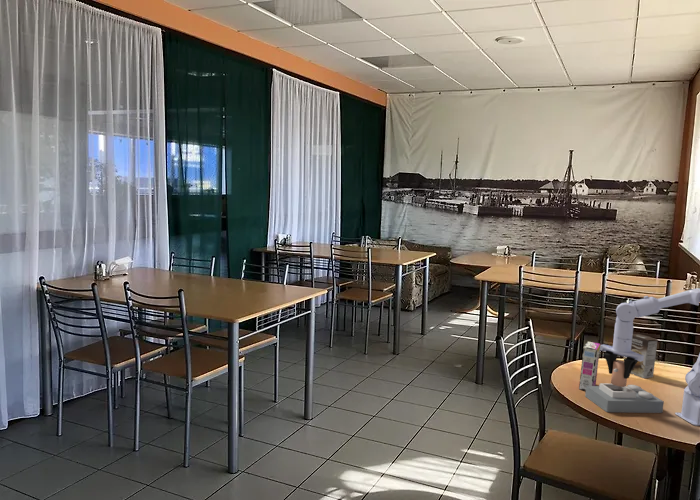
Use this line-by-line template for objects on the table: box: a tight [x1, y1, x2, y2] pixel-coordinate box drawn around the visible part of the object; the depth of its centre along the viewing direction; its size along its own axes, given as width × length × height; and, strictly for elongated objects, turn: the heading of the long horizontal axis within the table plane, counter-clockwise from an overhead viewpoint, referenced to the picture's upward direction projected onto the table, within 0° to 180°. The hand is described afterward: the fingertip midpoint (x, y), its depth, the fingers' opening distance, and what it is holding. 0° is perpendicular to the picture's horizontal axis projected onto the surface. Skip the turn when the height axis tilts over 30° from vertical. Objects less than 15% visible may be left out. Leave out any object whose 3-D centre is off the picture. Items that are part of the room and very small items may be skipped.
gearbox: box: [584, 382, 664, 414], centre depth 191 cm, size 14×20×6 cm
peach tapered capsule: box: [610, 359, 628, 387], centre depth 190 cm, size 5×7×8 cm
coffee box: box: [625, 333, 659, 379], centre depth 226 cm, size 9×6×16 cm
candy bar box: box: [578, 341, 601, 392], centre depth 207 cm, size 11×5×16 cm, turn 149°
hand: (618, 375), depth 190 cm, fingers closed on peach tapered capsule, 5 cm apart
